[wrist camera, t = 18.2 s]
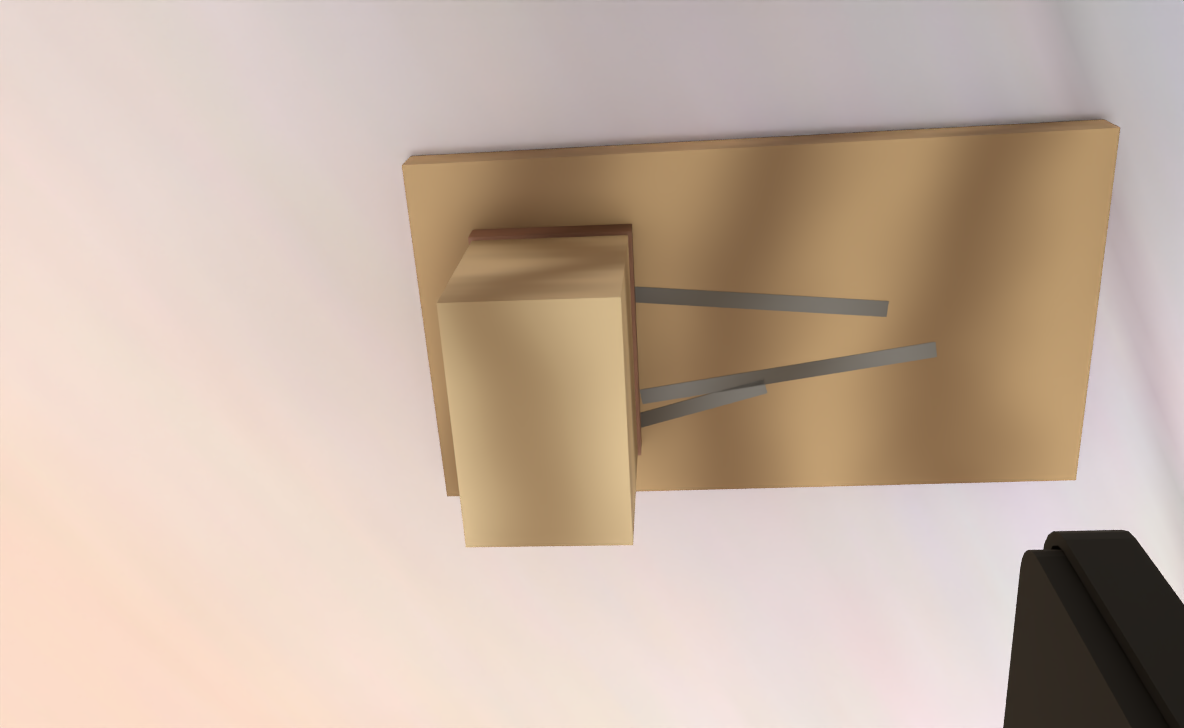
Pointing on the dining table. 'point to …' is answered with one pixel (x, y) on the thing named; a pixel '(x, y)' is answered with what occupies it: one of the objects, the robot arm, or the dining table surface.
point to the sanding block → (544, 385)
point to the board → (823, 294)
